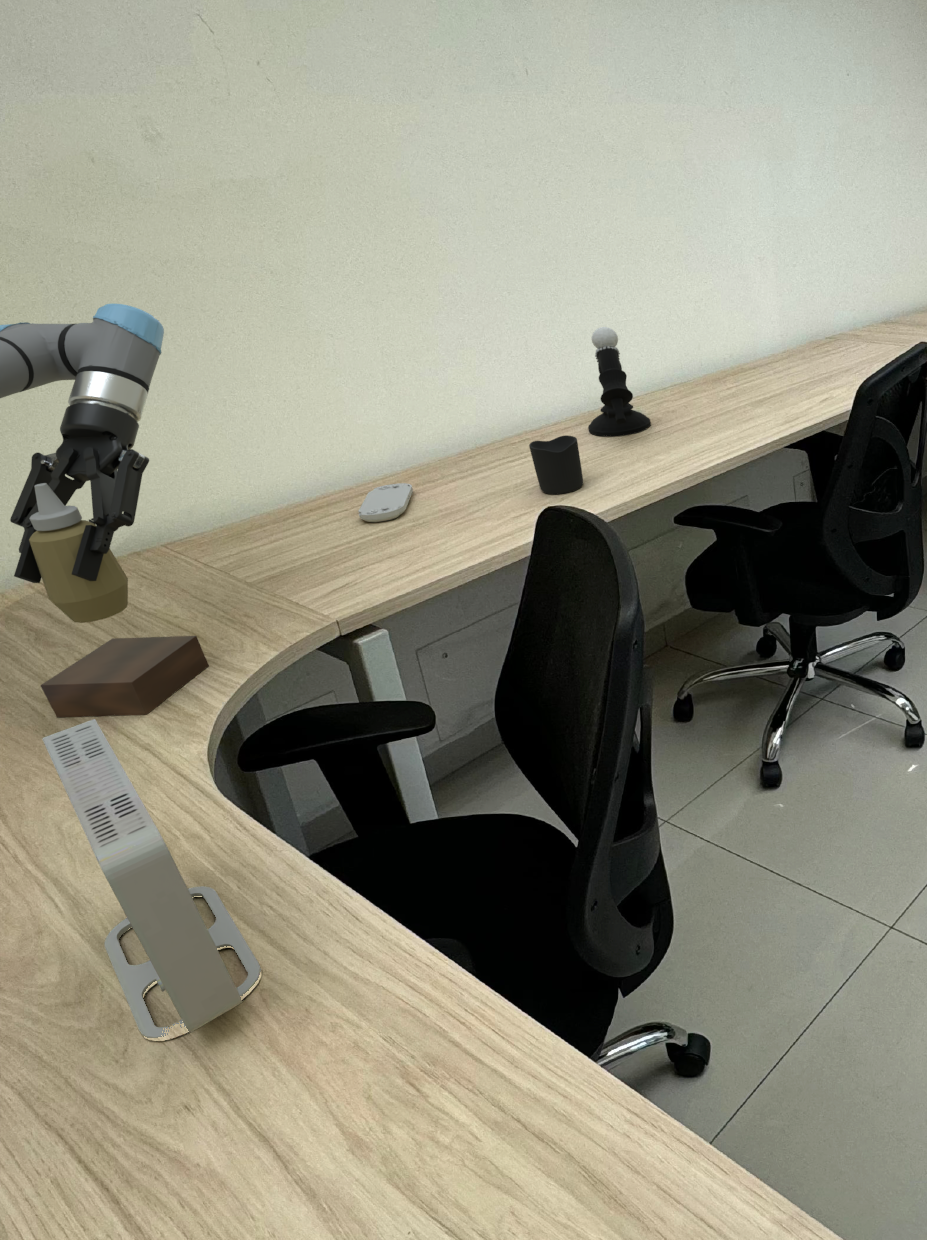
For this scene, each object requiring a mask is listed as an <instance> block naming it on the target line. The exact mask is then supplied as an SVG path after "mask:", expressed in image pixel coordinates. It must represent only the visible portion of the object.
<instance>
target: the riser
mask: <svg viewBox="0 0 927 1240" xmlns="http://www.w3.org/2000/svg"><path fill="white" fill-rule="evenodd" d="M209 667H210V665H209V662H208V660H207V658H206V655H205V653H204V650H203V647H202V645H201V643H200V640H199V638H198V636H197V635H174V636H145V637H118V638H117V637H115V638H111V639H109V640H107V641H106V642H104V643H103V644H102V645H99V646H98V647H97V648H95V649H94V650H92V651H91V652H90V653H88V654H86V655H85V656H82V658H80V659H78V660H77V661H75V662H74V663H72V664H71V665H69V666H68V667H66V668H65V669H63V670H62V671H60V672H58V673H57V674H56V675H54V676H52V677H51V678H49V679H48V680H46V681H44V682H43V683H42V684H40V688H41V689H42V692H43V693H44V695H45V698H46V699H47V701H48V703H49V706H50V707H51V709H52V711H53V713H54V715H55V717H56V718H79V717H81V718H82V717H110V716H111V717H112V716H144V715H145V716H146V715H148V714H149V713H151V712H152V711H153V710H155V709H156V708H157V707H158V706H160V705H161V704H162V703H164V702H165V701H166V700H167V699H169V698H170V697H171V696H173V695H174V694H175V693H176V692H178V691H179V690H180V689H182V688H183V687H184V686H186V685H187V684H188V683H190V681H192V680H194V678H195V677H197V676H198V675H199V674H201V673H202V672H203V671H205V670H206V669H207V668H209Z"/></svg>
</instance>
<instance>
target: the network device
mask: <svg viewBox="0 0 927 1240" xmlns="http://www.w3.org/2000/svg"><path fill="white" fill-rule="evenodd" d="M102 730H103V729H102V728H101V727H100V725H99V724H98V722H97V720H96V719H95V718H93V719H90V720H88V721H84V722H83V723H80V724H77V725H74V726H72V727H68V728H65V729H62V730H59V731H57V732H55V733H52V734H50V735H49V734H48V735H46V736H44V737H41V738H42V742H43V744H44V746H45V749H46V750H47V753H48V755H49V758H50V760H51V762H52V764H53V766H54V769H55V770H56V772H57V775H58V777H59V780H60V782H61V783H62V786H63V788H64V791H65V792H66V794H67V797H68V799H69V801H70V804H71V806H72V808H73V811H74V812H75V815H76V817H77V819H78V821H79V824H80V825H81V828H82V830H83V832H84V835H85V836H86V840H87V841H88V843H89V845H90V848H91V850H92V852H93V854H94V857H95V859H96V861H97V863H98V865H99V867H100V869H101V871H102V873H103V875H104V877H105V879H106V881H107V883H108V885H109V886H110V888H111V890H112V892H113V894H114V896H115V898H116V900H117V901H118V903H119V906H120V908H121V909H122V911H123V913H124V914H125V918H124V919H123V920H121V921H120V922H119V923H117V924H116V925H115V926H114V927H113V928H111V930H110V931H109V932H108V934H107V935H106V937H105V939H104V942H103V943H104V944H103V945H104V949H105V951H106V954H107V956H108V958H109V961H110V963H111V965H112V969H113V971H114V973H115V975H116V978H117V980H118V983H119V986H120V988H121V990H122V992H123V995H124V996H125V1000H126V1002H127V1004H128V1007H129V1009H130V1013H131V1014H132V1017H133V1019H134V1021H135V1024H136V1027H137V1028H138V1031H139V1033H140V1032H141V1033H140V1034H141V1036H142V1035H143V1036H145V1037H147V1038H158V1037H162V1036H163V1037H164V1034H165V1036H166V1033H164V1032H165V1028H166V1029H167V1028H168V1026H169V1025H167V1026H156V1024H155V1022H153V1021H154V1019H153V1017H152V1015H150V1014H151V1012H150V1010H149V1008H148V1005H147V1003H146V1001H144V1000H145V998H144V999H143V994H144V992H145V991H146V989H147V988H148V986H150V985H151V984H152V983H153V982H155V981H157V983H158V984H157V985H158V986H159V988H160V990H161V992H162V993H164V992H165V991H166V993H167V995H168V997H169V998H170V1000H171V1002H172V1004H173V1006H174V1008H175V1010H176V1011H177V1013H178V1015H179V1018H180V1020H178V1021H179V1022H180V1024H182V1023H184V1027H185V1026H186V1028H187V1029H188V1031H189V1033H188V1034H191V1033H192V1032H194V1031H196V1030H198V1029H199V1028H201V1027H203V1026H204V1025H206V1024H208V1023H210V1022H212V1021H214V1020H215V1019H216V1018H218V1017H220V1016H222V1015H223V1014H226V1013H227V1012H229V1011H231V1010H232V1009H234V1008H236V1007H237V1006H239V1005H241V1004H242V1003H243V1001H242V1000H241V997H240V996H243V994H245V993H246V992H247V991H249V989H250V988H251V987H252V986H253V985H254V984H255V982H256V981H257V980H258V978H259V975H260V972H261V970H262V967H261V965H260V963H259V961H258V959H257V958H256V955H255V954H254V952H253V950H252V949H251V948H250V946H249V944H248V943H247V941H246V940H245V938H244V936H243V934H242V933H241V931H240V929H239V928H238V926H237V923H236V922H235V921H234V919H233V918H232V916H231V914H230V913H229V911H228V909H227V907H226V906H225V904H224V903H223V901H222V899H221V897H220V896H219V894H218V892H217V891H216V890H215V889H214V888H212V887H210V886H192V887H189V888H188V886H187V884H186V882H185V880H184V878H183V876H182V874H181V872H180V870H179V868H178V865H177V864H176V861H175V860H174V858H173V855H172V854H171V851H170V849H169V848H168V846H167V844H166V842H165V840H164V838H163V836H162V834H161V832H160V831H159V829H158V827H157V825H156V824H155V821H154V820H153V818H152V817H151V815H150V813H149V811H148V809H147V808H146V806H145V804H144V802H143V801H142V799H141V797H140V795H139V793H138V791H137V790H136V788H135V787H134V784H133V782H132V781H131V780H130V777H129V775H128V773H127V772H126V770H125V769H124V767H123V766H122V763H121V762H120V760H119V758H118V756H117V754H116V753H115V751H114V749H113V748H112V746H111V744H110V743H109V741H108V739H107V737H106V735H105V734H104V732H103V731H102ZM194 896H202V897H203V898H202V899H204V900H205V902H206V904H207V903H208V904H207V905H208V907H209V909H210V910H212V911H211V913H212V914H213V916H214V915H215V916H214V917H216V918H215V921H214V923H213V924H212V925H211V926H210V927H209V928H208V926H207V925H206V923H205V921H204V918H203V917H202V915H201V913H200V911H199V908H198V907H197V905H196V903H195V901H194V898H192V897H194ZM131 927H132V930H133V931H134V934H135V936H136V937H137V939H138V941H139V942H140V944H141V947H142V948H143V950H144V952H145V953H146V956H147V958H148V960H147V961H145V962H143V963H139V964H129V962H127V961H128V959H127V957H126V955H125V952H124V950H123V948H122V946H120V945H121V943H120V940H119V938H120V937H121V935H122V934H123V933H124V932H126V931H127V930H128V929H129V928H131ZM127 932H128V931H127ZM127 932H126V933H127ZM123 935H124V934H123ZM121 938H122V937H121ZM121 938H120V939H121ZM224 946H226V947H227V946H231V947H233V948H234V950H235V951H234V950H233V951H234V952H235V954H236V953H237V954H236V955H238V956H237V957H238V959H239V961H240V960H241V961H240V963H241V964H242V966H243V965H244V966H243V968H244V967H245V968H244V969H245V971H246V973H247V972H248V973H247V976H246V978H245V980H244V981H243V982H242V983H241V984H240V985H238V986H236V985H235V983H234V981H233V978H232V976H231V974H230V972H229V971H228V968H227V966H226V963H225V962H224V960H223V957H222V956H221V954H220V951H218V950H217V948H220V947H224ZM123 952H124V953H123ZM126 959H127V960H126ZM260 967H261V968H260ZM145 1003H146V1004H145ZM146 1005H147V1006H146ZM148 1010H149V1011H148ZM149 1012H150V1013H149ZM151 1017H152V1018H151ZM152 1019H153V1020H152ZM178 1021H176V1022H174V1023H173V1024H171V1025H173V1026H174V1025H175V1023H176V1024H179V1023H177V1022H178ZM182 1021H183V1022H182ZM154 1024H155V1025H154ZM180 1027H181V1025H180ZM163 1028H164V1030H163ZM171 1028H172V1027H171ZM181 1028H182V1027H181ZM169 1029H170V1027H169ZM162 1031H163V1033H162ZM166 1032H167V1030H166ZM168 1032H169V1030H168ZM161 1035H162V1036H161ZM167 1035H168V1033H167ZM143 1036H142V1037H143Z"/></svg>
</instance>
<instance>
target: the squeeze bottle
mask: <svg viewBox="0 0 927 1240" xmlns="http://www.w3.org/2000/svg"><path fill="white" fill-rule="evenodd" d="M34 487H35V493H36V499H37V505H38V511H39V512H37V513H35V514H33V515H31V517H30V518H29V519H30V521H31V523H32V525H33V527H34V529H35V530H37V531H36V532H34V533H33V534H32V536H31V537H30V539H29V541H30V544H31V547H32V550H33V553H34V556H35V559H36V562H37V565H38V568H39V571H40V574H41V580H42V582H43V585H44V589H45V592H46V594H47V595H46V596H47V597H48V600H49V601H50V602H51V603H52V604H53V605H54V606H55V607H56V608H58V609H59V610H60V611H61V612H62V613H63V614H64V615H65V616H66V617H67V618H69V620H71V621H72V622H73V623H77V624H78V623H79V624H84V623H93V622H97V621H102V620H105V619H108V618H110V617H113V616H115V615H117V614H120V613H121V612H123V611H124V610H126V609H127V608H128V605H129V578H128V576H127V574H126V573H125V571H124V570H123V568H122V566H121V564H120V562H119V561H118V560H117V558H116V556H115V555H114V553H113V551H112V550H111V547H110V548H109V551H108V552H107V554H104V555H103V558H102V562H101V565H100V569H99V572H98V576H97V580H96V581H89V580H86V579H83V578H80V577H78V576H75V575H72V571H73V567H74V564H75V560H76V557H77V553H78V550H79V547H80V543H81V540H82V536H83V533H84V529H85V526H86V525H93V526H95V527H96V524H93V523H91V522H89V520H84V519H83V517H82V514H81V512H80V510H79V508H78V507H77V506H75V505H66V506H64V504H63V503H62V502H61V501H60V499H59V498H58V497H57V496H56V494H55V493H54V492H53V491H52V489H51V488H50V487H49V486H48V485H47V483H41V484H37V485H35V486H34Z"/></svg>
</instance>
